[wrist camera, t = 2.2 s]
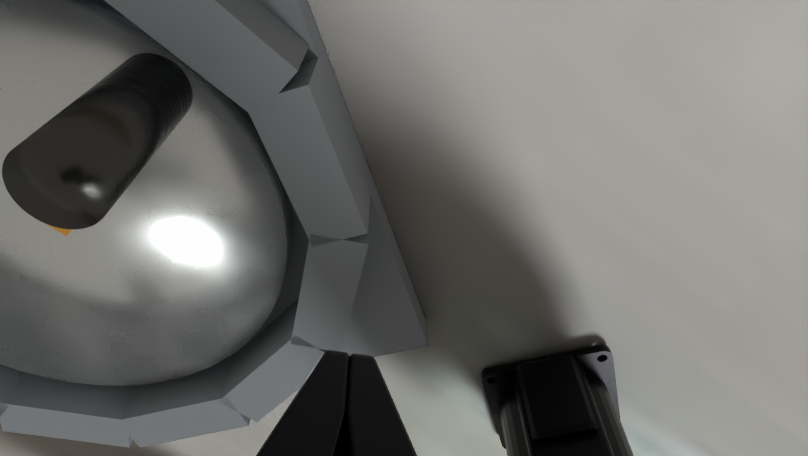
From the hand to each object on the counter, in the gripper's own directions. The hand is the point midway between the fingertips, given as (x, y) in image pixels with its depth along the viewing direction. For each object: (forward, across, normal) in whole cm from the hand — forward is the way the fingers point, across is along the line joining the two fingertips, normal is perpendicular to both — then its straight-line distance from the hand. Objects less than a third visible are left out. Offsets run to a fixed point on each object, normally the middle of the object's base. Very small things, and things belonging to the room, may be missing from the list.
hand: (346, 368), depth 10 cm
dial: (+11, +10, +6) cm, 17 cm away
